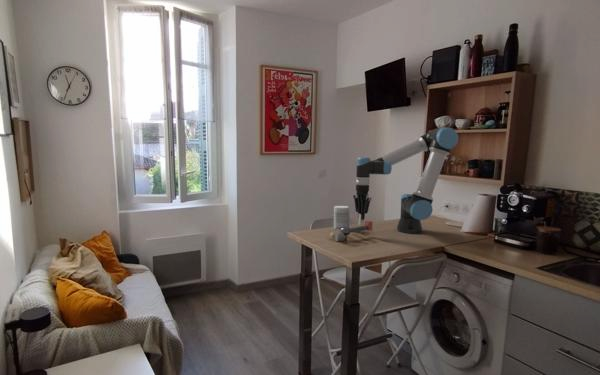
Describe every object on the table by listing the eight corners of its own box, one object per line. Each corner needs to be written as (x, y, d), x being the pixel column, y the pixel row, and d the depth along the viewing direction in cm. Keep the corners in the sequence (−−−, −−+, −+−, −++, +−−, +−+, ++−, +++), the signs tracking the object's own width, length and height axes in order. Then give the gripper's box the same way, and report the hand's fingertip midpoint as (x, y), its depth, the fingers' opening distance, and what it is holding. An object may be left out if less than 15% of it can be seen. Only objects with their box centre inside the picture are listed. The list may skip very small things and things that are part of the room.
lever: (367, 234, 200) (367, 220, 199) (373, 236, 195) (373, 221, 194) (333, 240, 186) (333, 225, 186) (339, 242, 182) (339, 226, 181)
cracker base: (357, 235, 203) (357, 233, 203) (383, 243, 187) (383, 241, 186) (326, 241, 191) (326, 238, 191) (350, 250, 174) (350, 247, 174)
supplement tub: (352, 230, 216) (352, 207, 214) (340, 232, 210) (340, 208, 209) (341, 227, 224) (342, 204, 222) (330, 229, 218) (330, 206, 217)
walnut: (335, 237, 193) (335, 231, 192) (341, 239, 189) (341, 233, 188) (328, 238, 190) (328, 232, 190) (334, 240, 186) (334, 234, 186)
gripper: (350, 183, 203) (348, 223, 206) (365, 185, 192) (364, 227, 195) (359, 183, 207) (358, 221, 210) (375, 185, 196) (373, 226, 199)
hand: (361, 224), depth 203 cm, fingers closed
